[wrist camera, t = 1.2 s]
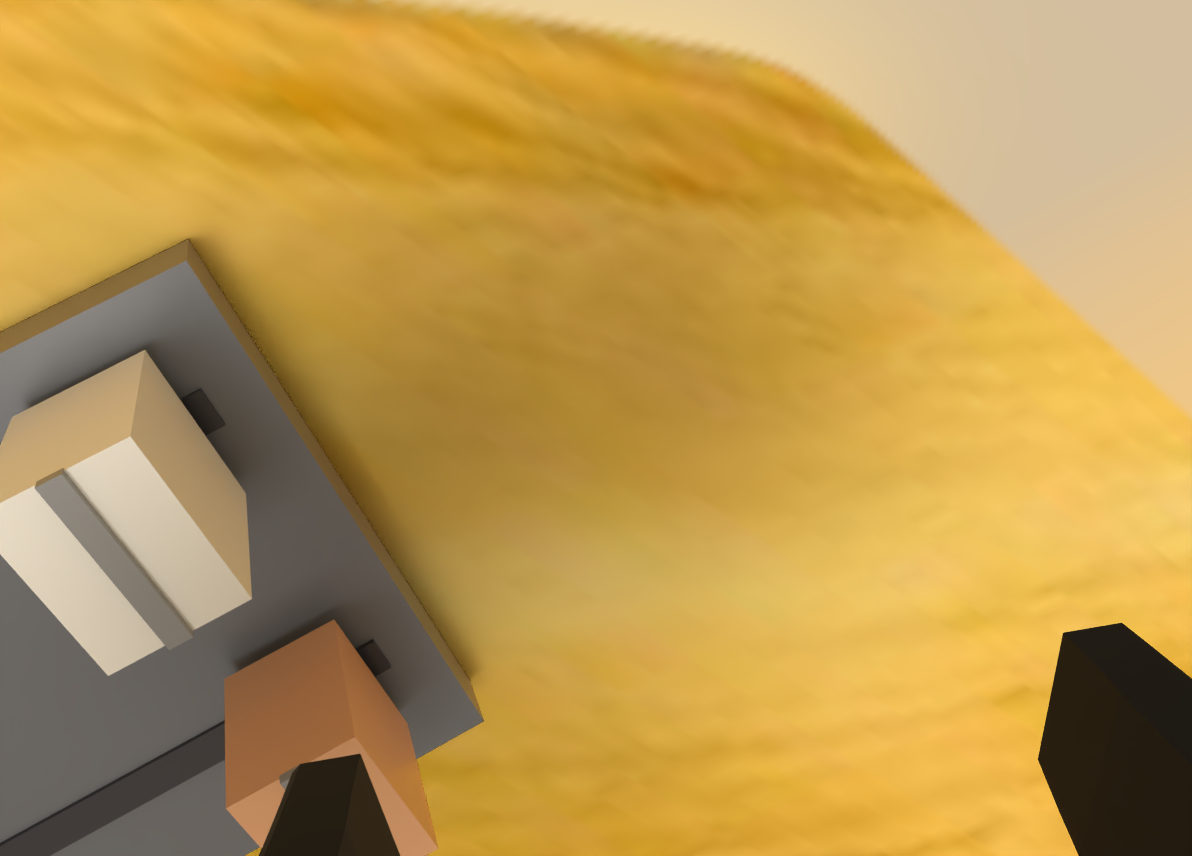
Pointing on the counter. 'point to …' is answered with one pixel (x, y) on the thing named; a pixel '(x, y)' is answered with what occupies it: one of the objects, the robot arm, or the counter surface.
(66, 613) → the fader cream
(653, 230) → the counter surface
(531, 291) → the counter surface
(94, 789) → the console
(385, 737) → the fader terracotta
